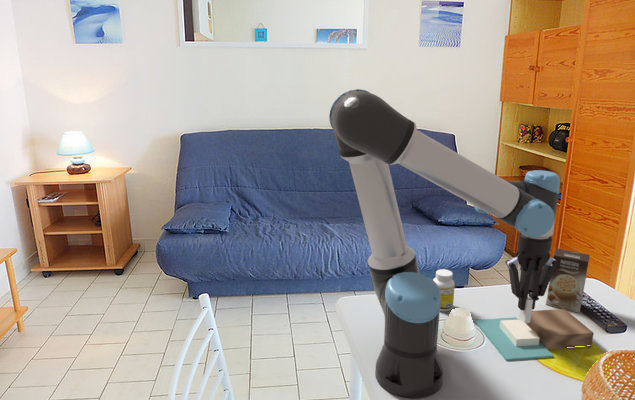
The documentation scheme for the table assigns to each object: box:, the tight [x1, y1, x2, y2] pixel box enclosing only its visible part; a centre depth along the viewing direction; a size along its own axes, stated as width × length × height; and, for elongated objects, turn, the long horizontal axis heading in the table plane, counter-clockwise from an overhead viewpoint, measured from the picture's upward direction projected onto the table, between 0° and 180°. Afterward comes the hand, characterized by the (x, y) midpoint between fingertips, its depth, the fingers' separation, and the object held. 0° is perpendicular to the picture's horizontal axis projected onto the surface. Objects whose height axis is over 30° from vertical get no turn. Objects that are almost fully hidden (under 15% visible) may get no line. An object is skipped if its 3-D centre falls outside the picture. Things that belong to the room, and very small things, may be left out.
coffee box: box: [545, 248, 591, 314], centre depth 137 cm, size 9×6×16 cm
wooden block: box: [526, 308, 595, 351], centre depth 124 cm, size 12×12×4 cm
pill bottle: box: [432, 268, 456, 312], centre depth 137 cm, size 6×6×11 cm
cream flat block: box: [500, 318, 540, 346], centre depth 123 cm, size 6×9×2 cm, turn 5°
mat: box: [474, 317, 554, 362], centre depth 123 cm, size 12×18×1 cm, turn 6°
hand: (524, 320), depth 122 cm, fingers closed
